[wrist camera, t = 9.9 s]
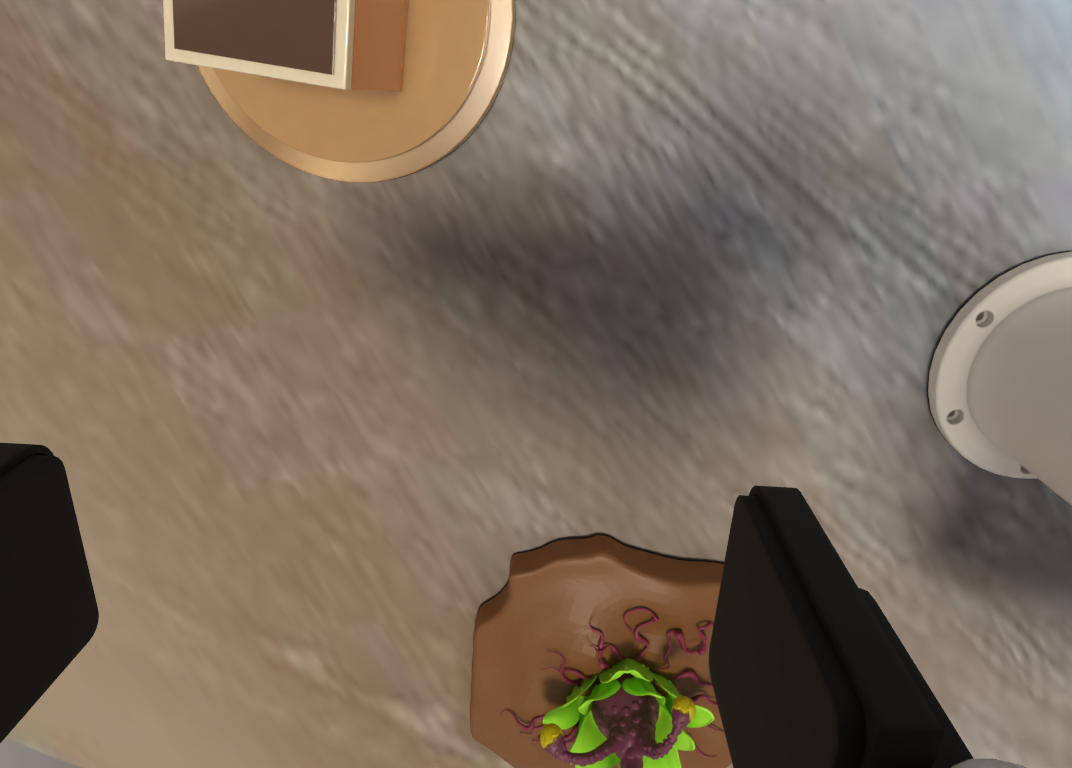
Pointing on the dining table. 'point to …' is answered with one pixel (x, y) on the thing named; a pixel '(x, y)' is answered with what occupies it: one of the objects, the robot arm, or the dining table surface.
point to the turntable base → (418, 156)
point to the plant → (599, 661)
